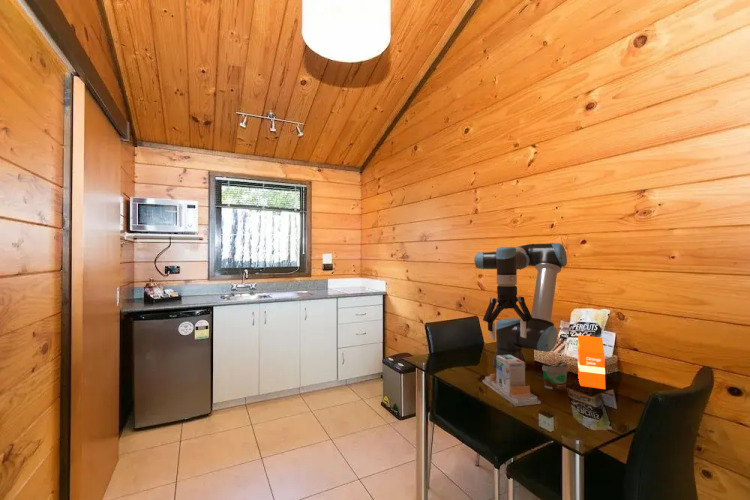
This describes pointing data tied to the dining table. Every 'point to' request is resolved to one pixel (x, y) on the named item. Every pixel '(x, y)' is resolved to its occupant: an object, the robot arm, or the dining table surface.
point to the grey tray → (512, 392)
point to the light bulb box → (510, 371)
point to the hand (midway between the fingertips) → (508, 338)
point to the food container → (555, 376)
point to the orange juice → (591, 362)
